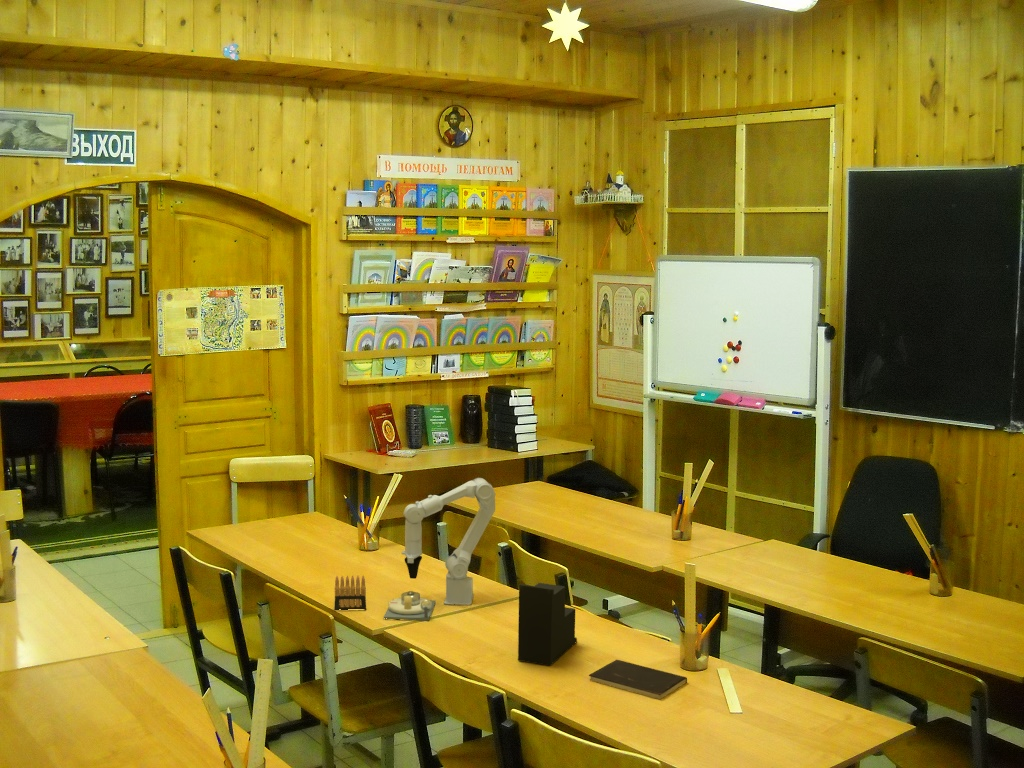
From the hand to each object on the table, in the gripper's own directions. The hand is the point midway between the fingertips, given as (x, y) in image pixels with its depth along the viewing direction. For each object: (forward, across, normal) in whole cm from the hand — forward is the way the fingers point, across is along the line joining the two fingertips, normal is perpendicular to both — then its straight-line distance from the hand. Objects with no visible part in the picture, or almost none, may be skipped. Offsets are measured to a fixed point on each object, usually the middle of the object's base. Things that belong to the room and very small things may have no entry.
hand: (413, 578), depth 384 cm
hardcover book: (+10, +65, +74) cm, 98 cm away
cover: (+7, +7, 0) cm, 10 cm away
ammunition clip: (+10, +8, -20) cm, 24 cm away
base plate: (+9, +8, 0) cm, 12 cm away
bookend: (+10, +43, +48) cm, 65 cm away
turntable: (+8, +8, 0) cm, 11 cm away
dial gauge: (+9, +16, +6) cm, 20 cm away
